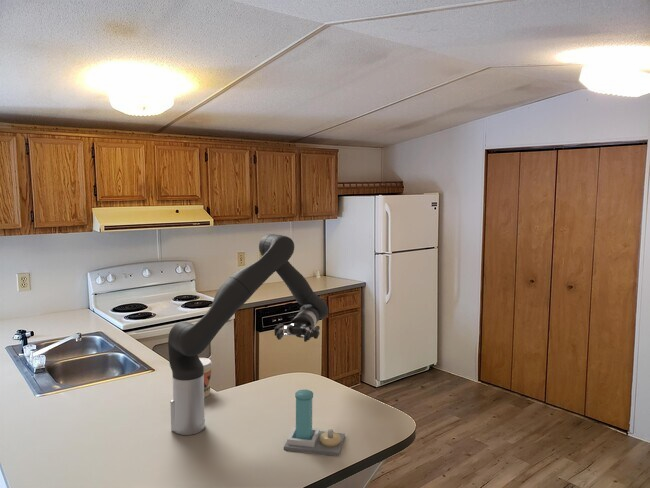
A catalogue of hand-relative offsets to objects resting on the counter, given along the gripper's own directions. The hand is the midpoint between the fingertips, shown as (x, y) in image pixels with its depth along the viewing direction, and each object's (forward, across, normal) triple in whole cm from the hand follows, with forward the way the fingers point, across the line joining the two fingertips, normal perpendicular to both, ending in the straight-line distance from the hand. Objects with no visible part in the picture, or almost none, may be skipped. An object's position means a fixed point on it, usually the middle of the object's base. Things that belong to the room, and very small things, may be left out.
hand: (291, 337), depth 155 cm
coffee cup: (-14, -38, +28) cm, 49 cm away
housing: (+11, +10, +28) cm, 32 cm away
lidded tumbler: (+11, +7, +27) cm, 30 cm away
